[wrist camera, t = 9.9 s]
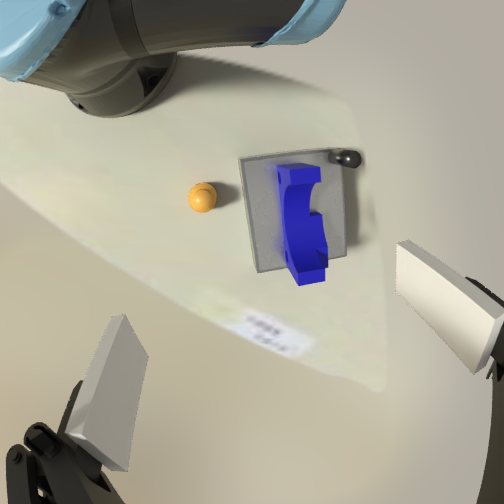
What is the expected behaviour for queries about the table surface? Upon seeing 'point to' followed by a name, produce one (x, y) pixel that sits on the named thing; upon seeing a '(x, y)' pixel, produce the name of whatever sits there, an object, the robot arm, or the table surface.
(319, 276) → the cable clip
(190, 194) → the chess pawn
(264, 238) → the grey square plate
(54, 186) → the table surface
